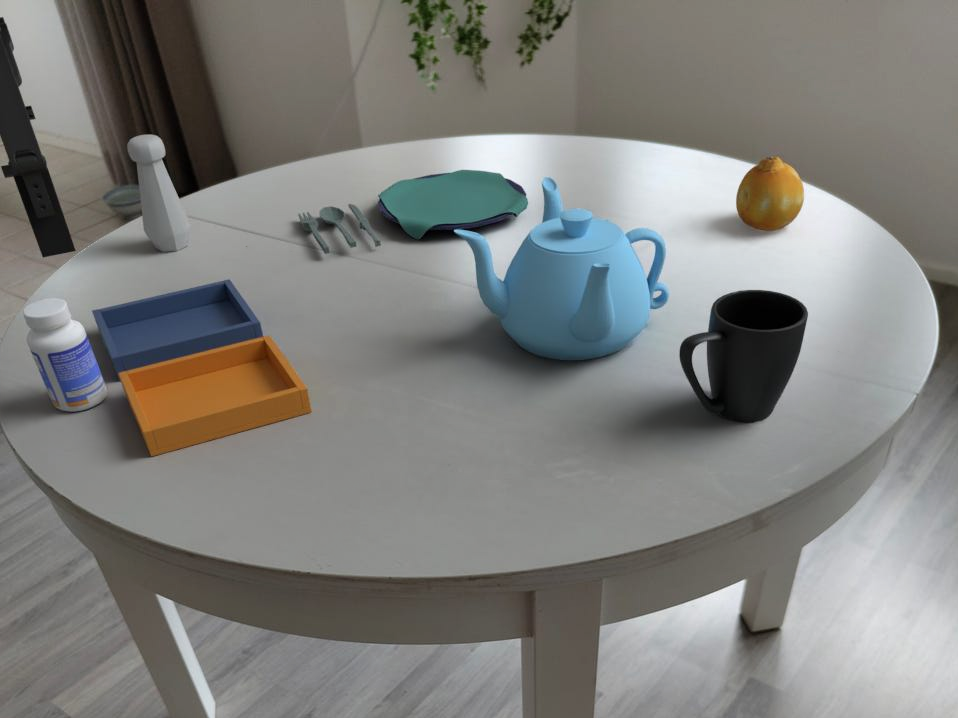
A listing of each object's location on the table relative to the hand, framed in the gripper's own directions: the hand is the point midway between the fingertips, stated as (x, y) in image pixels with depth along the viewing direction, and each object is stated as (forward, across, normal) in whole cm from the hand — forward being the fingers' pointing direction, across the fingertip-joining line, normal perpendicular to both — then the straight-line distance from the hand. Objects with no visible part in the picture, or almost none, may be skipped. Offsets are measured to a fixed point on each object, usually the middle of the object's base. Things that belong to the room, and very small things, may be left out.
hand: (49, 226), depth 84 cm
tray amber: (+16, -8, -9) cm, 21 cm away
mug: (+16, -33, -52) cm, 64 cm away
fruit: (+16, +1, -82) cm, 84 cm away
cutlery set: (+17, +27, -45) cm, 55 cm away
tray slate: (+16, +8, -9) cm, 21 cm away
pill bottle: (+17, 0, +3) cm, 17 cm away
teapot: (+16, -11, -46) cm, 51 cm away
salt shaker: (+17, +35, -14) cm, 41 cm away
